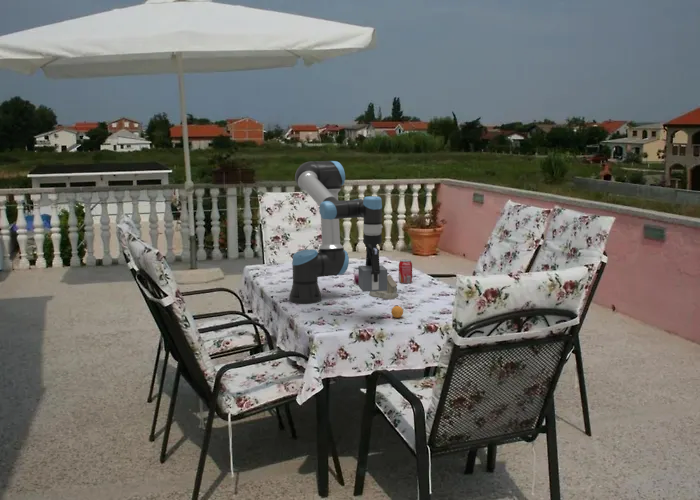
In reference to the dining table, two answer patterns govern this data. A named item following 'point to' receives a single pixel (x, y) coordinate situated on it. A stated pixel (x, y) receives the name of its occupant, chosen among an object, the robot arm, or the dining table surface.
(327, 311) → the dining table surface
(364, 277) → the smooth grey cube
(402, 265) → the soda can
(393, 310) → the ball
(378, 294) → the ceramic cottage
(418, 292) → the dining table surface
